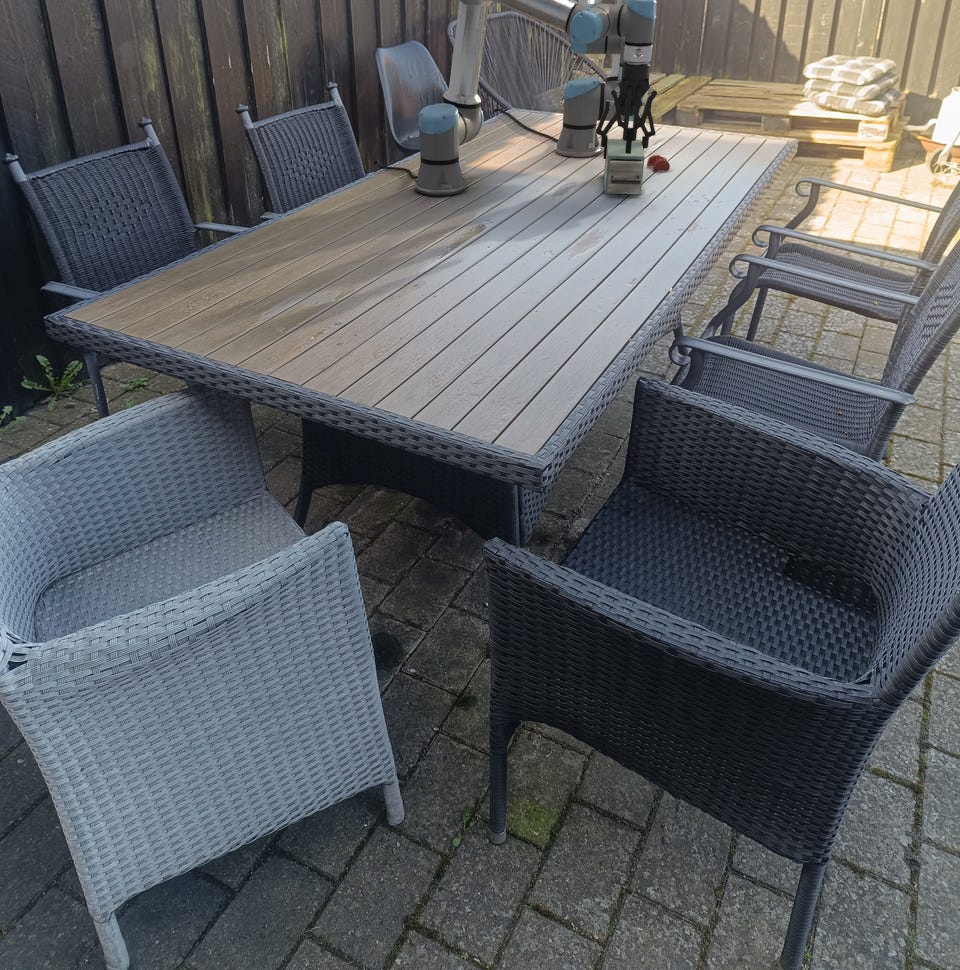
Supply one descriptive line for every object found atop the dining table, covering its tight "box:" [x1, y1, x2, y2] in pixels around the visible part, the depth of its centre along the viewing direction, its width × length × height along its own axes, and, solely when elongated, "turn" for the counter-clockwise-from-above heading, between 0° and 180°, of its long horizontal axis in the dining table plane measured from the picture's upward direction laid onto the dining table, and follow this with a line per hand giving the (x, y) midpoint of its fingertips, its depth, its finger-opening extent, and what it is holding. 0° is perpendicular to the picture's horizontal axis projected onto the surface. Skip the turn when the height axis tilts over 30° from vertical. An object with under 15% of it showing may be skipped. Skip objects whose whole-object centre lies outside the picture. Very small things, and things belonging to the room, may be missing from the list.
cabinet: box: [603, 138, 646, 196], centre depth 260 cm, size 20×11×11 cm, turn 174°
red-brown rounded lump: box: [646, 154, 671, 172], centre depth 276 cm, size 6×4×8 cm
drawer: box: [607, 159, 643, 195], centre depth 255 cm, size 24×10×9 cm, turn 174°
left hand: (627, 152), depth 243 cm, fingers closed
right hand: (623, 158), depth 264 cm, fingers closed on cabinet, 11 cm apart
